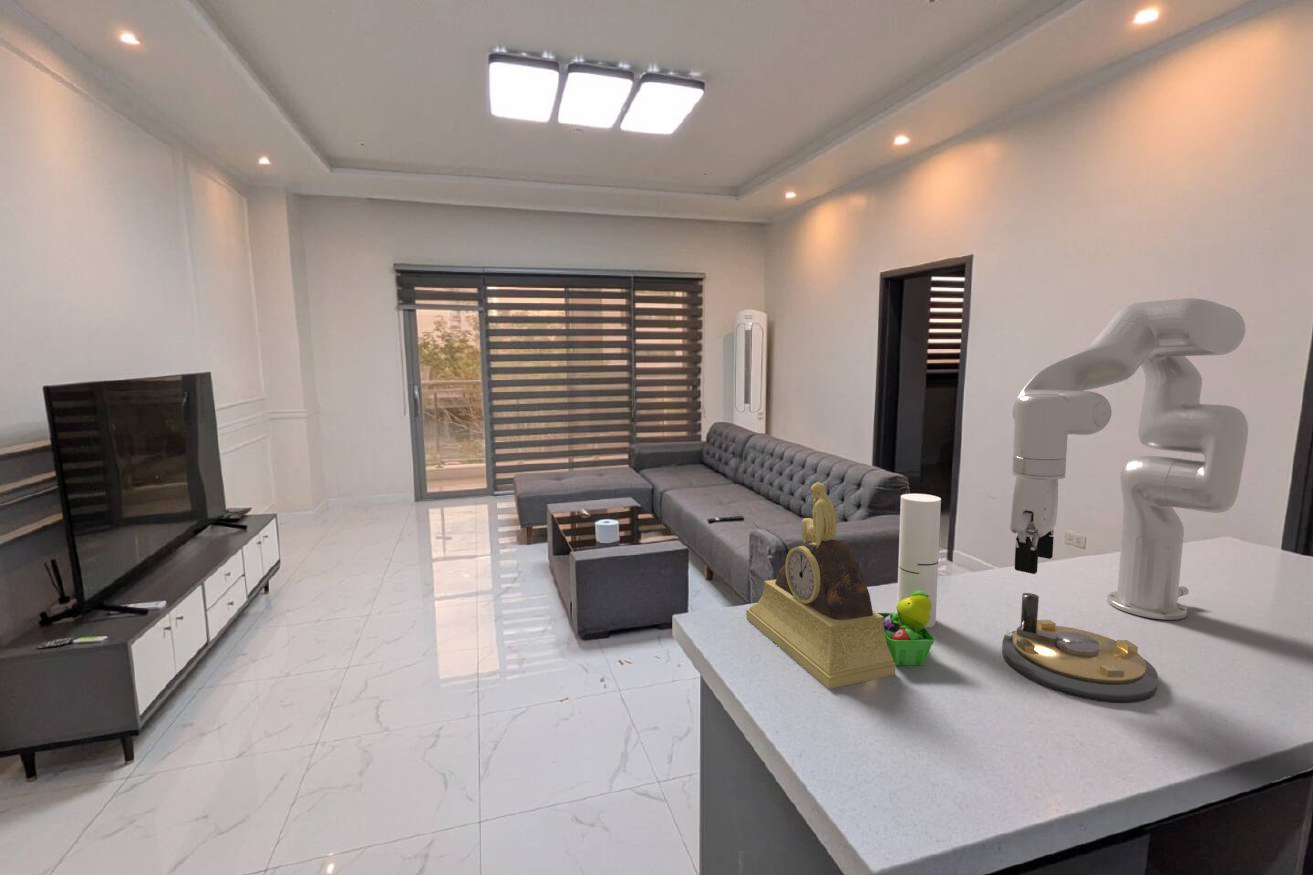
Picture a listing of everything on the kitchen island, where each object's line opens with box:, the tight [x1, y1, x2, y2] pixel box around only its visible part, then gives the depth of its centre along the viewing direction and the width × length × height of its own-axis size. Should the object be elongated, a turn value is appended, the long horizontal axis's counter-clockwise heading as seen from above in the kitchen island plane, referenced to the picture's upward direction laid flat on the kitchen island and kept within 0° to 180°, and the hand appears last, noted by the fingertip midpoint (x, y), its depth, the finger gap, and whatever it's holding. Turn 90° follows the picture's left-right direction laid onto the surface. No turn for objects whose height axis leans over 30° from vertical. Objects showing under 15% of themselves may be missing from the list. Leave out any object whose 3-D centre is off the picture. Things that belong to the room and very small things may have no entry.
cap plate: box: [1001, 630, 1159, 704], centre depth 98 cm, size 21×21×3 cm
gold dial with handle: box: [1013, 592, 1146, 684], centre depth 97 cm, size 18×18×8 cm
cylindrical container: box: [896, 493, 942, 629], centre depth 116 cm, size 7×7×25 cm
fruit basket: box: [877, 591, 935, 666], centre depth 103 cm, size 11×9×11 cm
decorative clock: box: [745, 482, 896, 690], centre depth 106 cm, size 28×13×30 cm, turn 19°
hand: (1033, 564), depth 101 cm, fingers open, 9 cm apart
